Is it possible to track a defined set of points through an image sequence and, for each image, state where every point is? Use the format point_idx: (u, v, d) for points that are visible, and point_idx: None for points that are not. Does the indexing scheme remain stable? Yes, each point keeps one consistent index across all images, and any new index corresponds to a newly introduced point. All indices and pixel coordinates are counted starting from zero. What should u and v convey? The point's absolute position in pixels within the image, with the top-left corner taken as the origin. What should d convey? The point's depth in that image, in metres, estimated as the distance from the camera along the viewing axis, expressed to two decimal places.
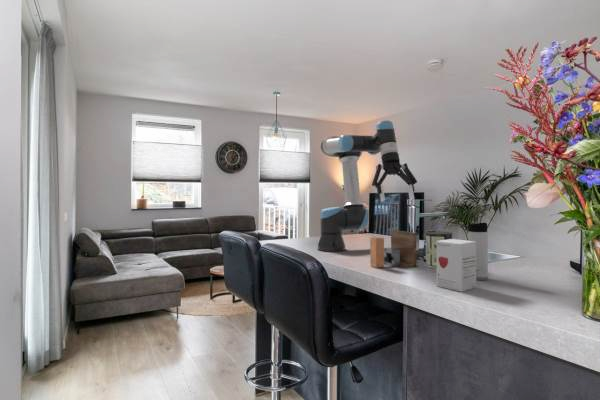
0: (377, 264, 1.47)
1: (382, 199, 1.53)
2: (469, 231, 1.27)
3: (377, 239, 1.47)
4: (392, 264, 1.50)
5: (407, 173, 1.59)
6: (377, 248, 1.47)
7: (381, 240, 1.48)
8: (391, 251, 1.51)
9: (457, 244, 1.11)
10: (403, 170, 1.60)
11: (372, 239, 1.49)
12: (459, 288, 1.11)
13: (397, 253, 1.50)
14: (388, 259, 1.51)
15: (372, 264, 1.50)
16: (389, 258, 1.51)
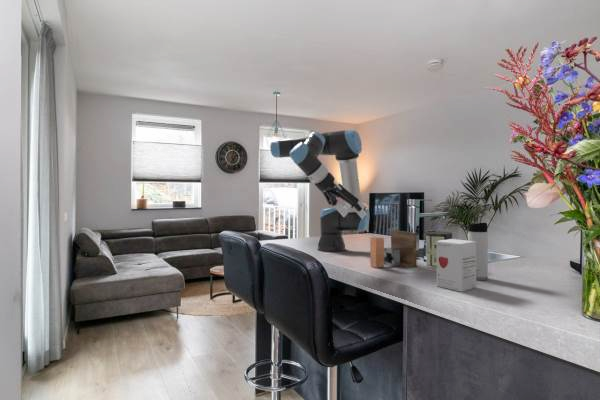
0: (377, 264, 1.47)
1: None
2: (469, 231, 1.27)
3: (377, 239, 1.47)
4: (392, 264, 1.50)
5: None
6: (377, 248, 1.47)
7: (381, 240, 1.48)
8: (391, 251, 1.51)
9: (457, 244, 1.11)
10: None
11: (372, 239, 1.49)
12: (459, 288, 1.11)
13: (397, 253, 1.50)
14: (388, 259, 1.51)
15: (372, 264, 1.50)
16: (389, 258, 1.51)
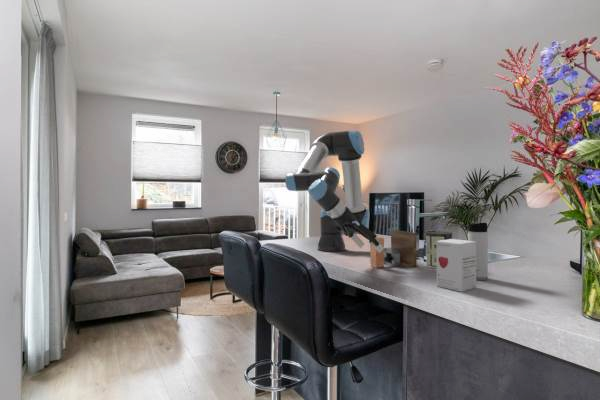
0: (377, 264, 1.47)
1: None
2: (469, 231, 1.27)
3: (377, 239, 1.47)
4: (392, 264, 1.50)
5: None
6: None
7: (381, 240, 1.48)
8: (391, 251, 1.51)
9: (457, 244, 1.11)
10: None
11: None
12: (459, 288, 1.11)
13: (397, 253, 1.50)
14: (388, 259, 1.51)
15: (372, 264, 1.50)
16: (389, 258, 1.51)
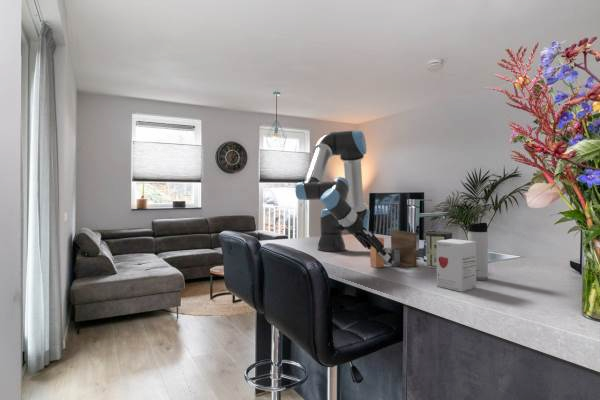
0: (377, 264, 1.47)
1: None
2: (469, 231, 1.27)
3: None
4: (392, 264, 1.50)
5: None
6: None
7: (381, 240, 1.48)
8: (391, 251, 1.51)
9: (457, 244, 1.11)
10: None
11: None
12: (459, 288, 1.11)
13: (397, 253, 1.50)
14: None
15: (372, 264, 1.50)
16: None
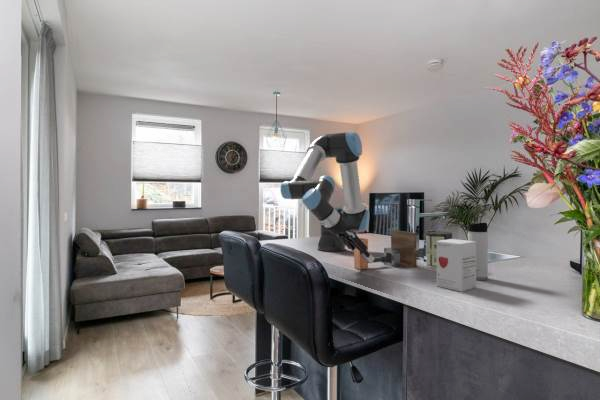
0: (361, 265, 1.44)
1: None
2: (469, 231, 1.27)
3: (361, 240, 1.44)
4: (392, 264, 1.50)
5: None
6: None
7: (365, 241, 1.45)
8: (391, 251, 1.51)
9: (457, 244, 1.11)
10: None
11: None
12: (459, 288, 1.11)
13: (397, 253, 1.50)
14: None
15: (356, 266, 1.46)
16: None
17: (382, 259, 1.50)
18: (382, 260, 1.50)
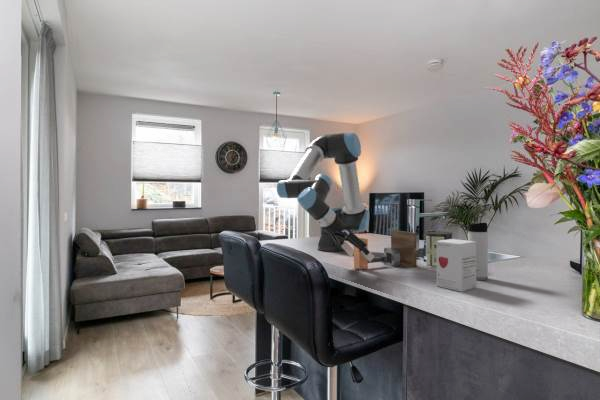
0: (361, 265, 1.44)
1: None
2: (469, 231, 1.27)
3: None
4: (392, 264, 1.50)
5: None
6: None
7: (365, 241, 1.45)
8: (391, 251, 1.51)
9: (457, 244, 1.11)
10: None
11: None
12: (459, 288, 1.11)
13: (397, 253, 1.50)
14: (372, 261, 1.48)
15: (355, 266, 1.46)
16: (373, 260, 1.48)
17: (382, 259, 1.50)
18: (382, 260, 1.50)
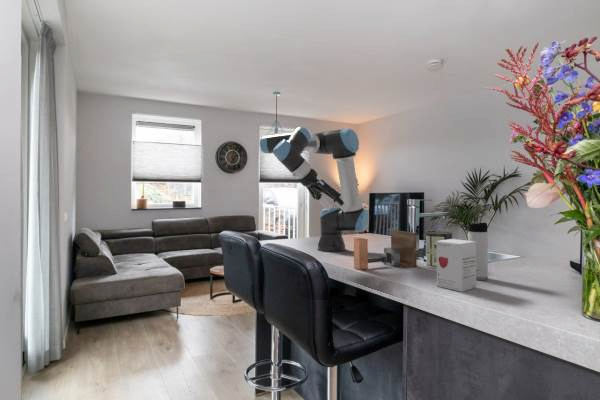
0: (361, 265, 1.44)
1: None
2: (469, 231, 1.27)
3: (360, 240, 1.44)
4: (392, 264, 1.50)
5: None
6: (360, 249, 1.44)
7: (365, 241, 1.45)
8: (391, 251, 1.51)
9: (457, 244, 1.11)
10: None
11: (356, 240, 1.46)
12: (459, 288, 1.11)
13: (397, 253, 1.50)
14: (372, 261, 1.48)
15: (355, 266, 1.46)
16: (373, 260, 1.48)
17: (382, 259, 1.50)
18: (382, 260, 1.50)
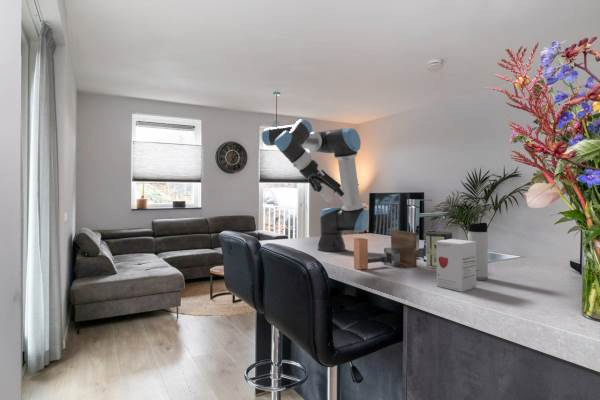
0: (361, 265, 1.44)
1: None
2: (469, 231, 1.27)
3: (360, 240, 1.44)
4: (392, 264, 1.50)
5: None
6: (360, 249, 1.44)
7: (365, 241, 1.45)
8: (391, 251, 1.51)
9: (457, 244, 1.11)
10: None
11: (356, 240, 1.46)
12: (459, 288, 1.11)
13: (397, 253, 1.50)
14: (372, 261, 1.48)
15: (355, 266, 1.46)
16: (373, 260, 1.48)
17: (382, 259, 1.50)
18: (382, 260, 1.50)
